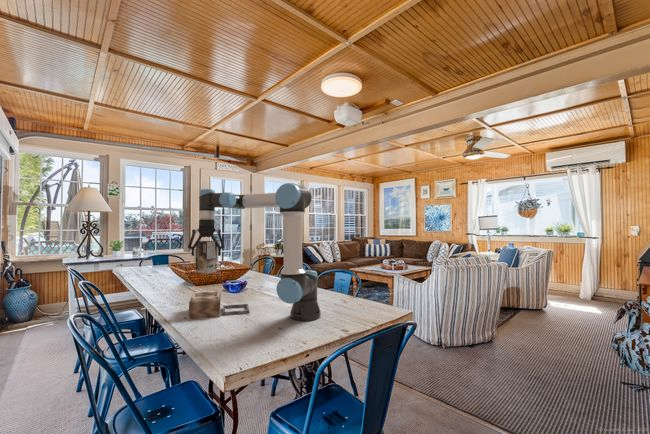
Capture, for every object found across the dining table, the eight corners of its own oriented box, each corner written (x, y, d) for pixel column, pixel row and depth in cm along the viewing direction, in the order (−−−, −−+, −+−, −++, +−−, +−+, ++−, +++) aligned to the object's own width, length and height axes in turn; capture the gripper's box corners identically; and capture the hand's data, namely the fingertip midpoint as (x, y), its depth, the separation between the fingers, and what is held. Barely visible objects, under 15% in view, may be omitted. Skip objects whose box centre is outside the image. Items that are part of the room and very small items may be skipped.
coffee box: (217, 272, 162) (217, 241, 162) (206, 273, 156) (207, 241, 157) (205, 270, 167) (206, 240, 167) (195, 272, 161) (195, 241, 162)
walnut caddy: (247, 305, 176) (247, 288, 176) (249, 314, 159) (249, 295, 159) (192, 309, 167) (193, 291, 168) (188, 319, 150) (189, 299, 150)
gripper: (229, 219, 169) (229, 260, 168) (183, 219, 162) (183, 261, 162) (229, 219, 162) (229, 262, 161) (181, 218, 155) (181, 263, 155)
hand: (206, 262), depth 162 cm, fingers closed on coffee box, 10 cm apart
